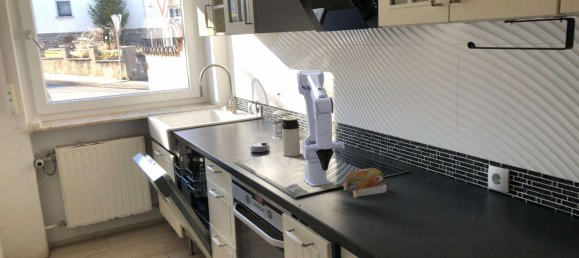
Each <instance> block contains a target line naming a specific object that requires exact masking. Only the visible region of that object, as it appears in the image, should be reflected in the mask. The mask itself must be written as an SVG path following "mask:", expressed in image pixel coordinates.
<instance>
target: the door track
mask: <svg viewBox="0 0 579 258" xmlns="http://www.w3.org/2000/svg"><path fill="white" fill-rule="evenodd" d="M343 191H347V192H349V191H348V190H347V188H346V185H345V182H344V183H343ZM383 193H387V185H385V184H383V185H377V186H371V187H364V188H359V189H356V190H353V193H352V198H354V199H356V198H359V197H362V196H364V197H365V196H370V195H376V194H383Z"/></svg>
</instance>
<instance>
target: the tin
mask: <svg viewBox="0 0 579 258" xmlns="http://www.w3.org/2000/svg"><path fill="white" fill-rule="evenodd" d="M344 183H345V185H346V188H347V190H348V191H347V192H350V193H352V194H353V190H356V189H359V188H364V187H371V186H377V185H384V183H385V175H384V173H383V171H382V170H381V169H379V168H374V167H368V168H363V169H358V170H353V171H351V172H349V173H347V176H346V177H345V182H344Z"/></svg>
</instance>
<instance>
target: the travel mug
mask: <svg viewBox="0 0 579 258" xmlns="http://www.w3.org/2000/svg"><path fill="white" fill-rule="evenodd" d="M282 119H283V124H282V133H283V139H282V152H283V156H285V157H288V158H290V157H291V158H292V157H293V158H294V157H298V156H300V155H301V143H300V124H299V121H298V120H299V117H298V116H290V117H288V116H287V117H285V116H284V117H282Z"/></svg>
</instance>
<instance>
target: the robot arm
mask: <svg viewBox="0 0 579 258" xmlns="http://www.w3.org/2000/svg"><path fill="white" fill-rule="evenodd" d="M296 80H297V90H298V94H301V96H303V99H304V101H305V111H306V119H307V120H306V121H307V127H308V128H307V129H308V136H306V138H304V140H303V142H302V155H303V158H304V160H305V162H304V174H305V178H303V179H302V180H303V181H305V182H306V183H307V184H309V186H310V187H316V186H323V185H329V184H331V181H329V180H328V177H327V175H328V174H327V171H329V166H330V162H331V159H332V157H333V155H334V153H335V152H334V149H335V150H336V149H345V142H343V141H336V142H335V141H334V142H333V116H332V114H334V109H335V108H334V106H335V105H334V100H333V97H332V96H329V95H328V93H327V90H326V89H325V87H324V83H325V74H324V71H323V69H314V70H312V69H311V70H310V69H309V70H308V69H307V70H298V71H297V75H296Z"/></svg>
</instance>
